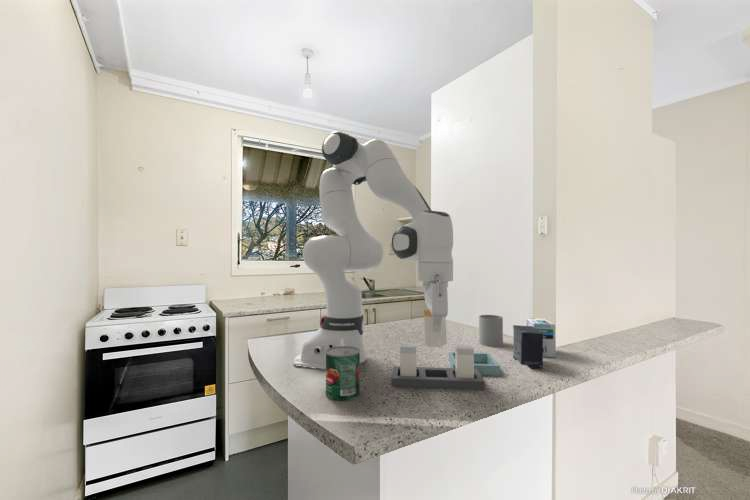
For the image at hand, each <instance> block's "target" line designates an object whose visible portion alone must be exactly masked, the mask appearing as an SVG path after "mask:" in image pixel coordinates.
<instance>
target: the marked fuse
mask: <svg viewBox="0 0 750 500" xmlns="http://www.w3.org/2000/svg"><path fill="white" fill-rule="evenodd" d="M423 318H424V343H425V344H424V346H425V347H432V348H442V347H444V346H446V345H447V316H446V317H442V322H441V331H440V332H434V331H433V316H432V314H431V313H430V311H429V309H428V308H426V309H424V310H423Z"/></svg>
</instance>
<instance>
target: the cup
mask: <svg viewBox="0 0 750 500" xmlns="http://www.w3.org/2000/svg"><path fill="white" fill-rule="evenodd" d="M503 319H504V318H503V316H501V315H494V314H481V315H479V316H478V344H480V345H481V346H484V347H491V348H496V347H498V348H499V346H500V347H503V346H504V331H503V330H504V321H503ZM502 345H503V346H502Z"/></svg>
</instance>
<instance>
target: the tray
mask: <svg viewBox="0 0 750 500" xmlns="http://www.w3.org/2000/svg"><path fill="white" fill-rule="evenodd" d="M448 362H449V365H450V368H455V351H449V352H448ZM483 363H485V364H483ZM474 369H478V371H479V373H480V374H481V376H500V372H501V371H500V365H499V363H498V362H497V361H496V359H495V358H494V357H493V356H492V354H491V353H490V352H474Z"/></svg>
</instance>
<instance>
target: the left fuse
mask: <svg viewBox="0 0 750 500" xmlns="http://www.w3.org/2000/svg"><path fill="white" fill-rule="evenodd" d="M399 352H400V353H399V355H400V358H399V359H400V360H399V362H400V363H399V366H400V376H416V367H417V343H416V342H400V346H399Z"/></svg>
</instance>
